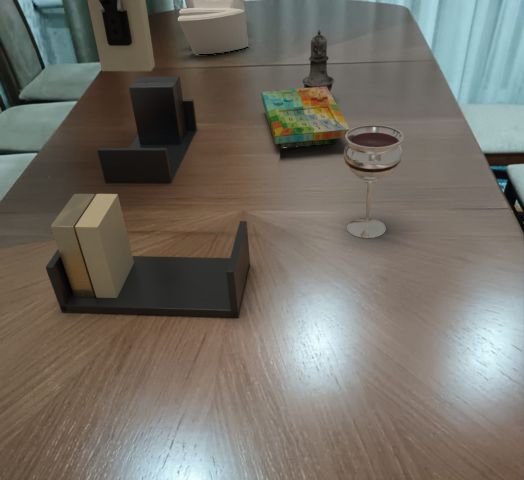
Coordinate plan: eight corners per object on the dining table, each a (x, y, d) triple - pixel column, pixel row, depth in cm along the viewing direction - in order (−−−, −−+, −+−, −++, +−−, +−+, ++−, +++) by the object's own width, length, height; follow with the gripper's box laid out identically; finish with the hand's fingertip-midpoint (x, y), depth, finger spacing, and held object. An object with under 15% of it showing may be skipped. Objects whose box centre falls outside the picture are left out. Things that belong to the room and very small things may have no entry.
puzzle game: (326, 81, 102) (351, 123, 87) (325, 108, 105) (349, 153, 90) (261, 86, 101) (274, 130, 87) (262, 113, 105) (275, 160, 90)
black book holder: (61, 312, 64) (32, 234, 57) (90, 261, 71) (68, 186, 64) (238, 318, 62) (230, 237, 55) (250, 265, 69) (244, 188, 62)
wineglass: (398, 219, 75) (410, 128, 67) (385, 246, 70) (395, 151, 62) (349, 211, 77) (354, 121, 69) (332, 236, 73) (336, 143, 65)
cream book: (150, 71, 79) (139, -5, 73) (101, 71, 79) (86, -4, 73) (155, 66, 80) (144, -9, 74) (107, 66, 81) (92, -8, 75)
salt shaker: (296, 102, 108) (295, 31, 100) (314, 92, 111) (315, 23, 103) (321, 108, 105) (322, 36, 97) (339, 98, 108) (342, 28, 100)
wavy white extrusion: (248, 58, 129) (245, 5, 122) (175, 62, 130) (168, 9, 123) (249, 20, 155) (247, -26, 148) (189, 23, 156) (183, -23, 149)
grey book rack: (172, 189, 84) (160, 121, 78) (106, 189, 85) (90, 121, 79) (198, 135, 99) (190, 73, 92) (142, 135, 100) (130, 74, 93)
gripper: (84, -139, 72) (114, 26, 84) (32, -132, 60) (76, 59, 72) (143, -141, 71) (164, 26, 83) (102, -134, 59) (134, 59, 71)
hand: (123, 40), depth 77 cm, fingers closed on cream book, 2 cm apart
